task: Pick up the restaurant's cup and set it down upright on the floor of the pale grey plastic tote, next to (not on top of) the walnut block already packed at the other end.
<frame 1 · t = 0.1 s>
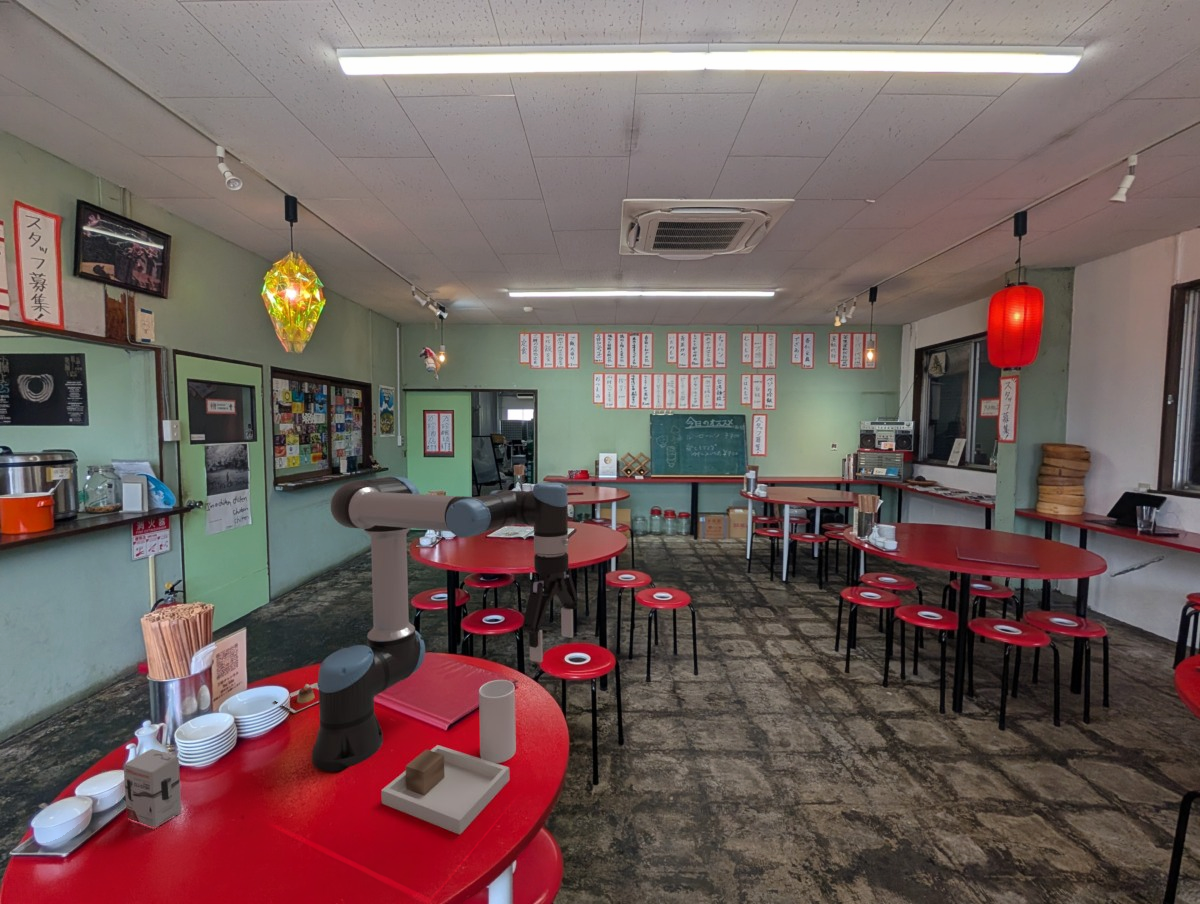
hand: (552, 648, 110), 28 cm above the table, fingers open, 13 cm apart
dessert: (305, 701, 143), on the table
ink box: (154, 817, 99), on the table
tote: (447, 794, 104), on the table
walnut block: (425, 783, 106), point 1 cm above the table, touching tote
cup: (498, 755, 117), on the table
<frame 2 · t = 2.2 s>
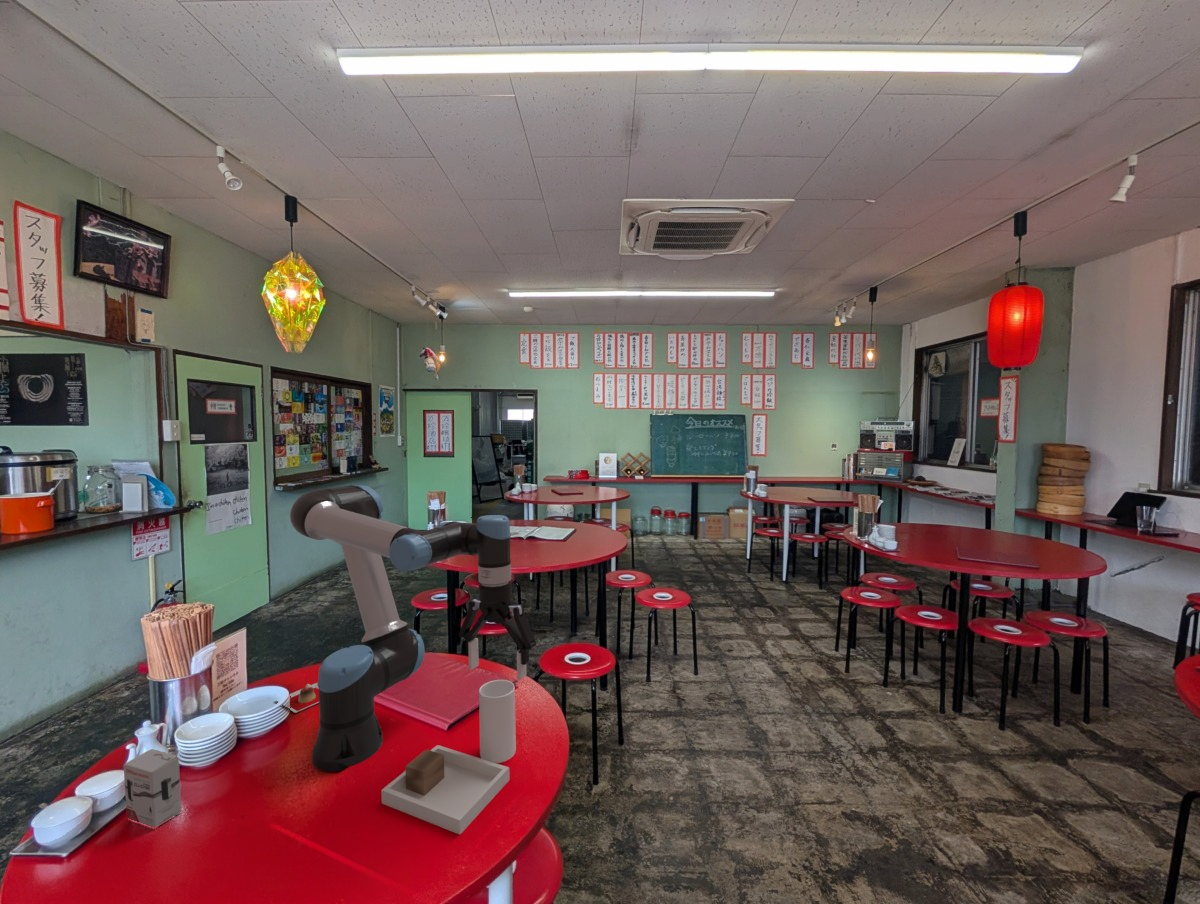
hand: (497, 672, 116), 20 cm above the table, fingers open, 13 cm apart
nothing on the table moved.
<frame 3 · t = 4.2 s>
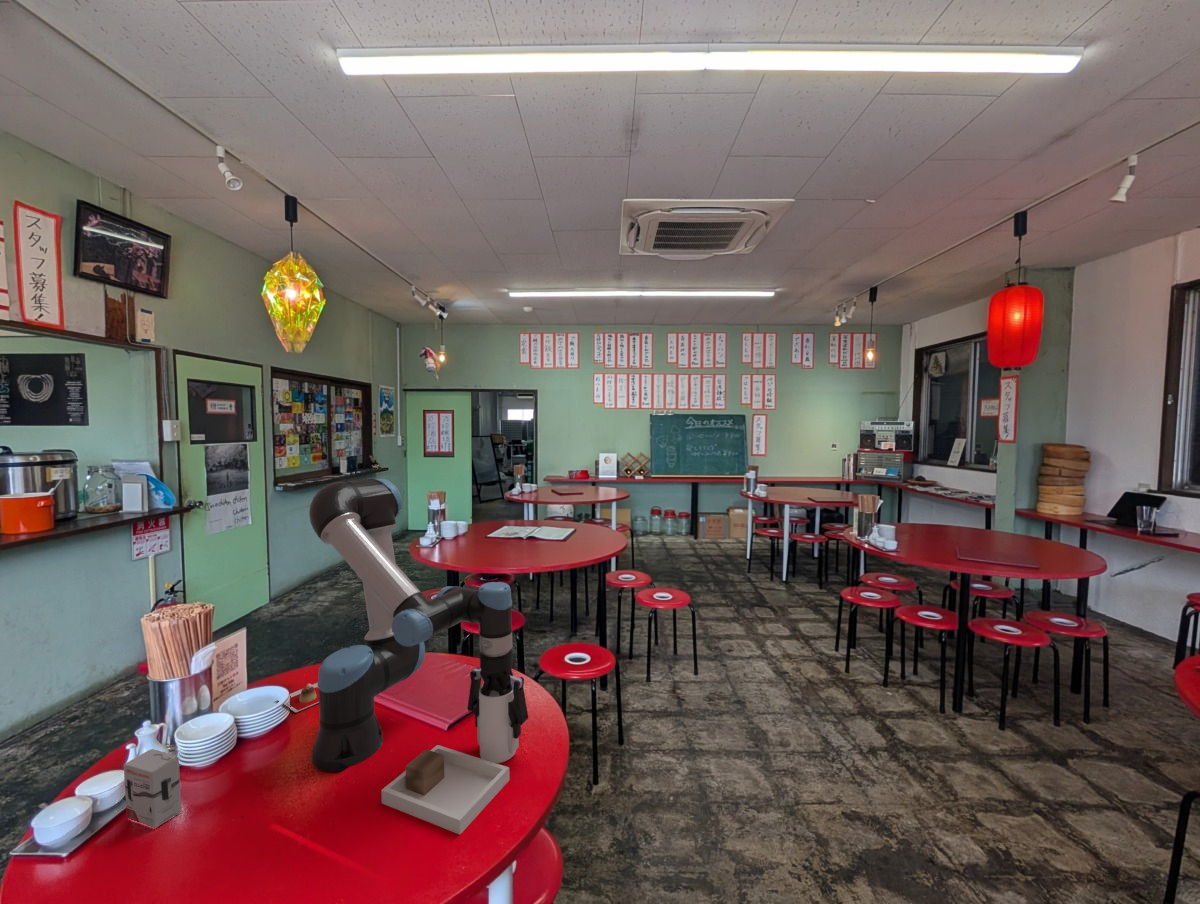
hand: (498, 745, 117), 2 cm above the table, fingers closed on cup, 8 cm apart
cup: (498, 755, 117), on the table, touching gripper
everything else where it was.
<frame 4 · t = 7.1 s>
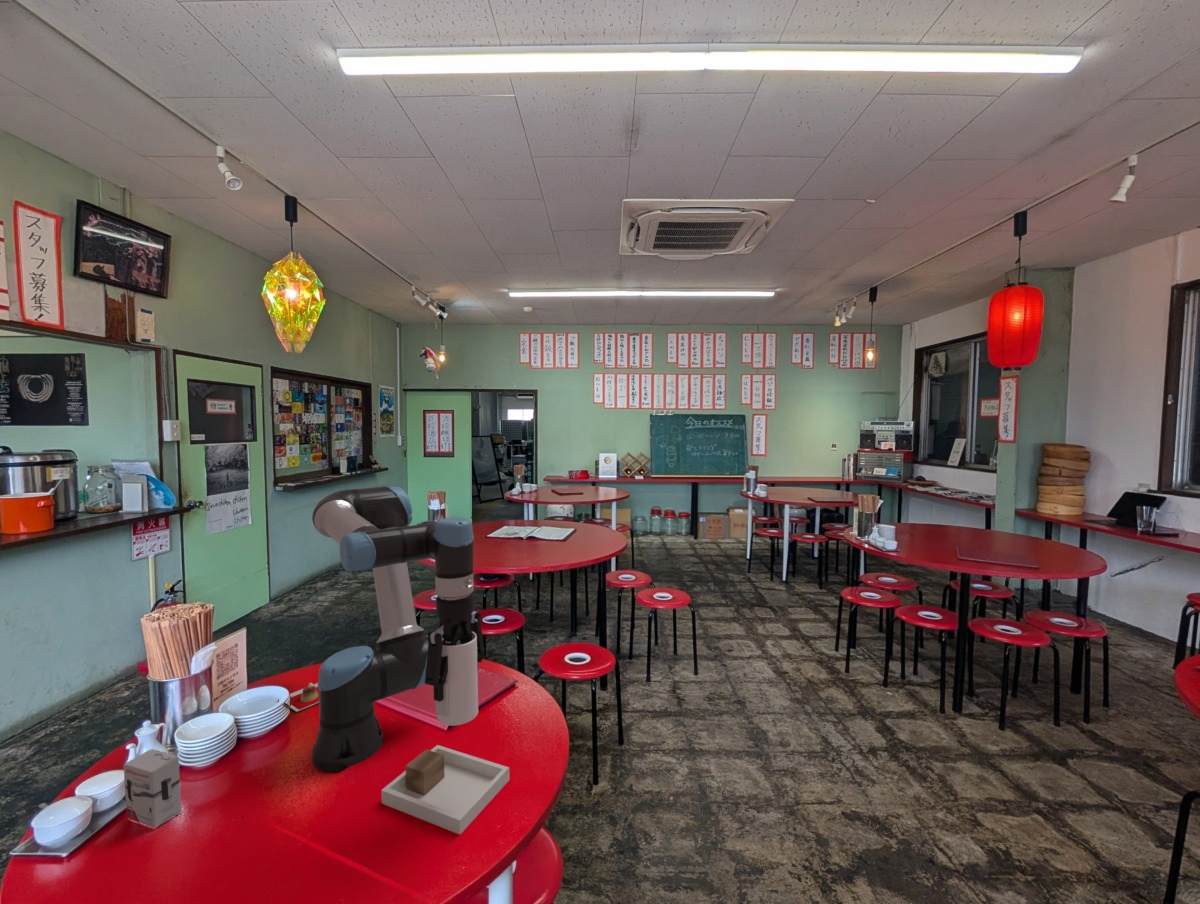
hand: (457, 703, 102), 20 cm above the table, fingers closed on cup, 8 cm apart
cup: (457, 715, 102), point 18 cm above the table, touching gripper
everything else where it was.
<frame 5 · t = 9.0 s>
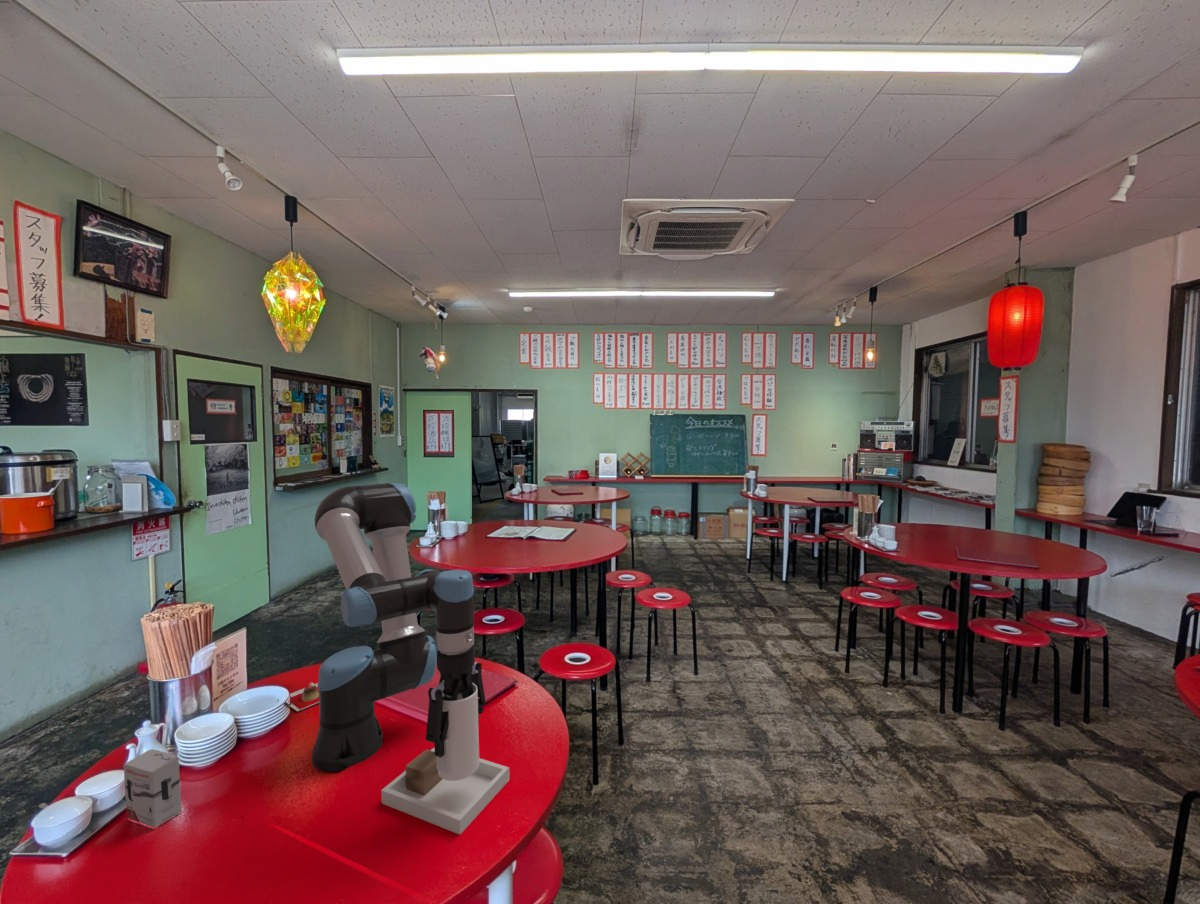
hand: (458, 756, 102), 9 cm above the table, fingers closed on cup, 8 cm apart
cup: (458, 768, 102), point 7 cm above the table, touching gripper
when the fingers open (5 cm above the table, at t = 10.4 s): cup drops 2 cm, resting on tote.
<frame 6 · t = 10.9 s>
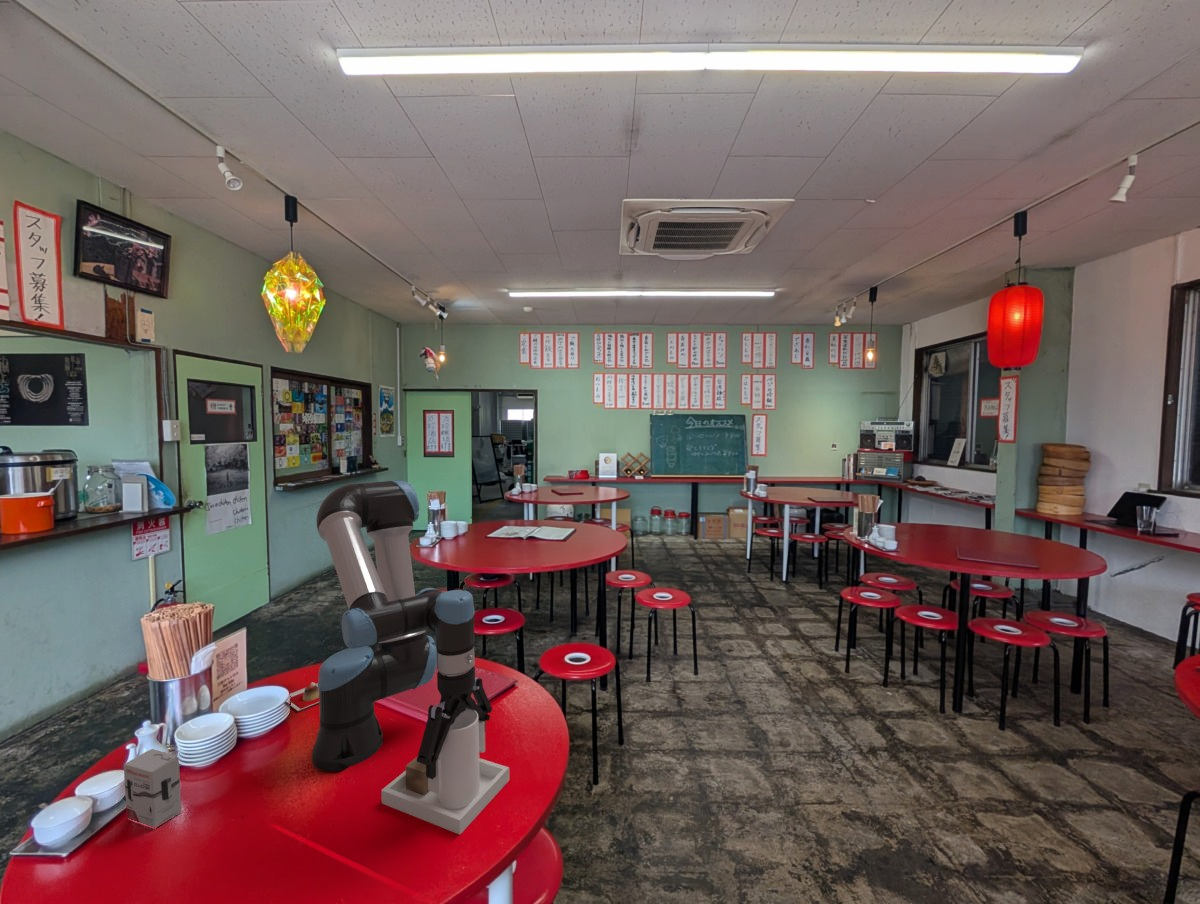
hand: (458, 769, 102), 6 cm above the table, fingers open, 13 cm apart
cup: (459, 795, 103), point 1 cm above the table, touching tote
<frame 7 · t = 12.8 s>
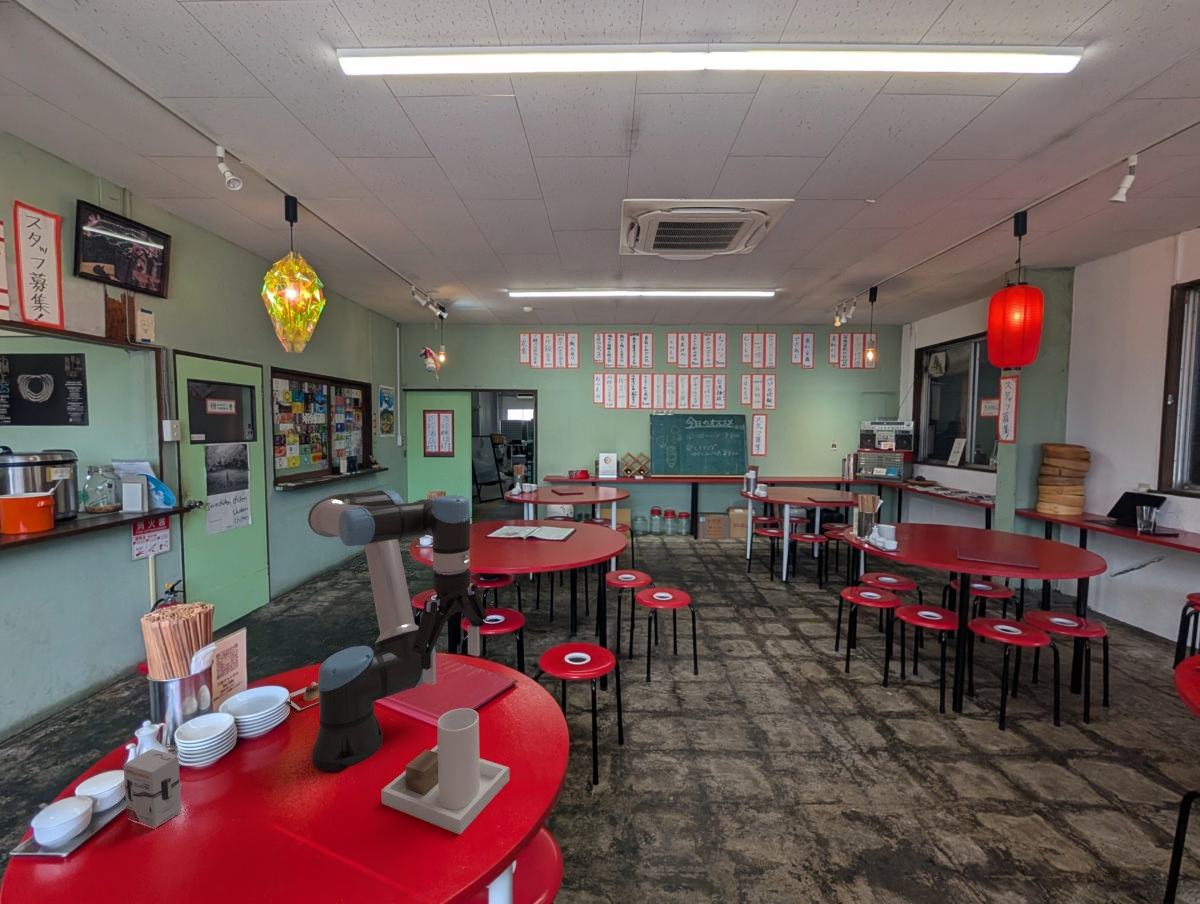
hand: (452, 668, 105), 26 cm above the table, fingers open, 13 cm apart
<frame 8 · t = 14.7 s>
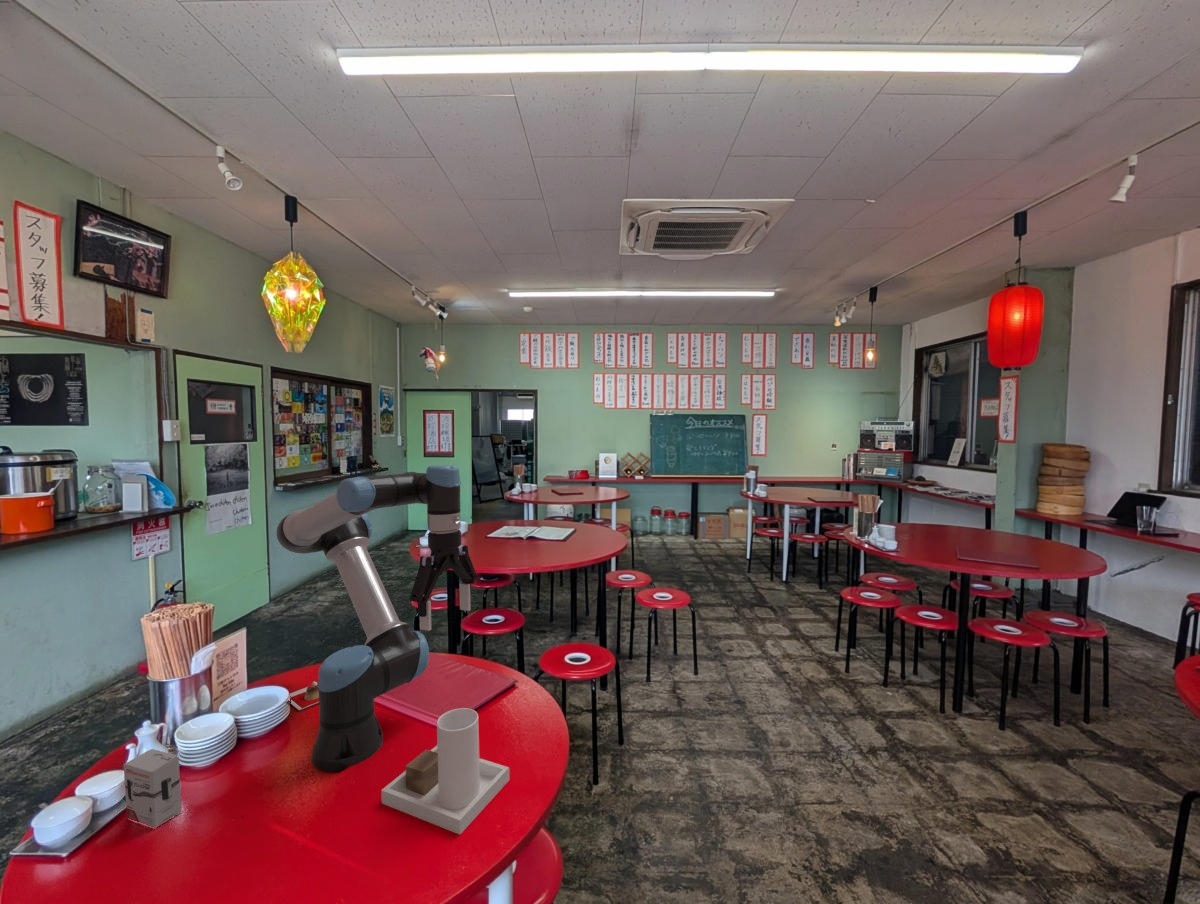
hand: (446, 619, 118), 32 cm above the table, fingers open, 13 cm apart
at the end: cup inside the target area on the tote (0.5 cm from its centre), point 0.6 cm above the tote's base; cup tilted 0°; cup touching tote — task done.
